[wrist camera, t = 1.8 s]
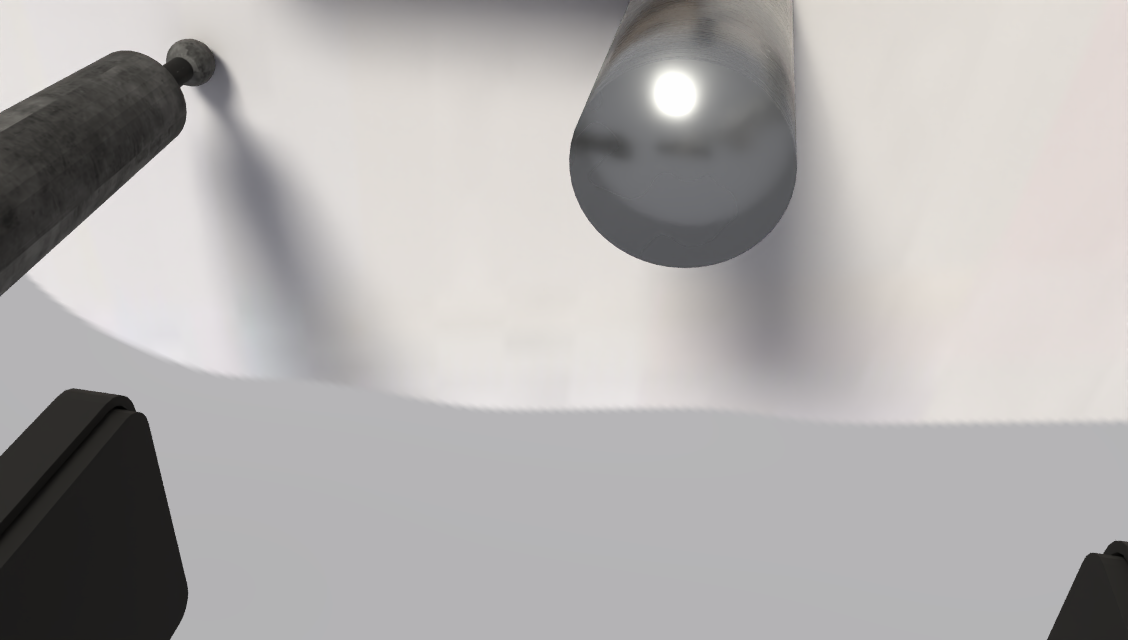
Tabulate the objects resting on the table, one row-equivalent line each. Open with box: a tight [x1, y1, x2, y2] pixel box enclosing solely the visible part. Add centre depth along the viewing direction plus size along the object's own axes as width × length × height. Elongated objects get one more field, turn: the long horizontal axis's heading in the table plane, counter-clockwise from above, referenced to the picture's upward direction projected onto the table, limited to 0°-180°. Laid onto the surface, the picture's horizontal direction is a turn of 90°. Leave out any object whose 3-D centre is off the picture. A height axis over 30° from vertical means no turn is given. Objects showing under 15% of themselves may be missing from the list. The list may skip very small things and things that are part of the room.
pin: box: [569, 0, 797, 268], centre depth 22 cm, size 4×4×10 cm
